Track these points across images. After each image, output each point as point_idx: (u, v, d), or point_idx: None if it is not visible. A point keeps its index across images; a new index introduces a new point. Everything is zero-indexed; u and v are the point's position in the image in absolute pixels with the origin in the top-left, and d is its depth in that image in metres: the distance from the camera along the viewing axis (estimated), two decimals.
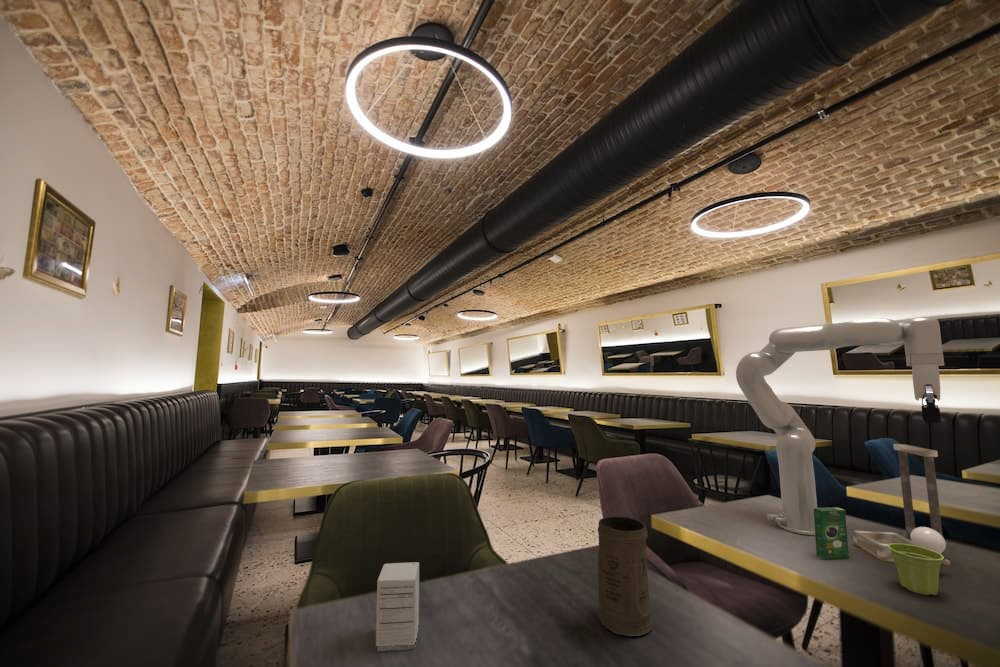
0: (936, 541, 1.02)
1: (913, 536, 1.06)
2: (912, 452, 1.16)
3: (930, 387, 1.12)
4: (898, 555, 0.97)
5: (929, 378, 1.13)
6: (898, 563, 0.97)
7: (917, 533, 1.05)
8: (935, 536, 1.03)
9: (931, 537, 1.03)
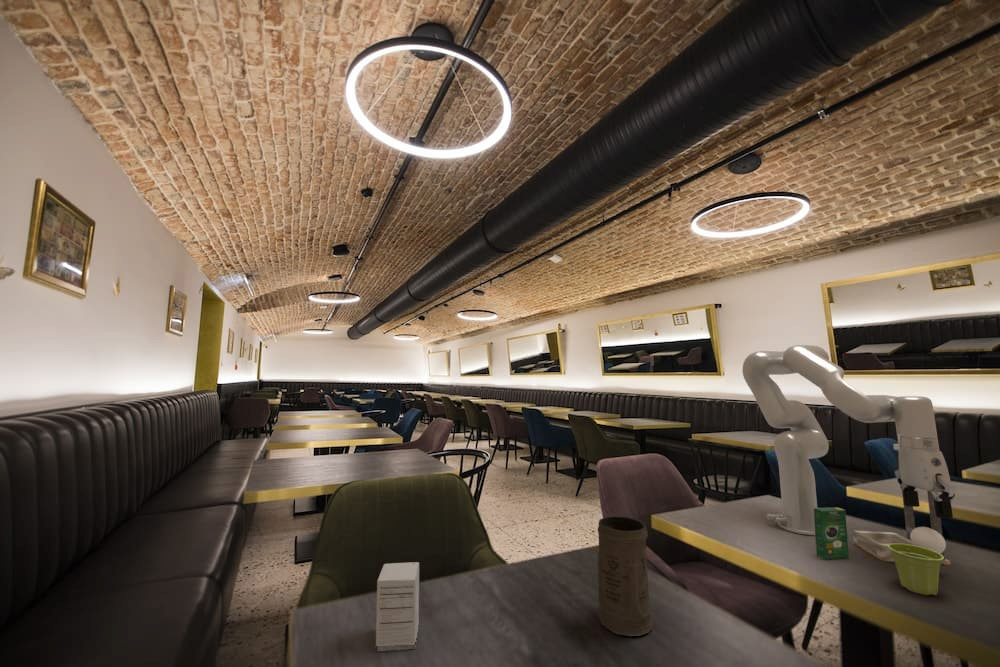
0: (936, 541, 1.02)
1: (913, 536, 1.06)
2: None
3: None
4: (898, 555, 0.97)
5: None
6: (898, 563, 0.97)
7: (917, 533, 1.05)
8: (935, 536, 1.03)
9: (931, 537, 1.03)
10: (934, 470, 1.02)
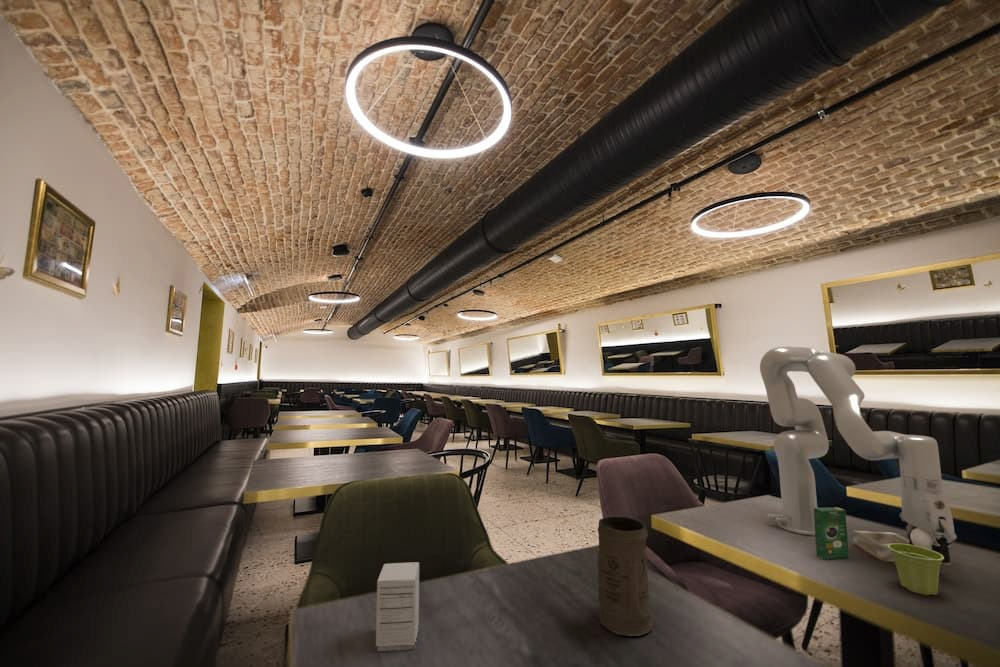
0: None
1: (913, 536, 1.06)
2: None
3: None
4: (898, 555, 0.97)
5: None
6: (898, 563, 0.97)
7: (917, 533, 1.05)
8: None
9: None
10: (937, 513, 1.01)
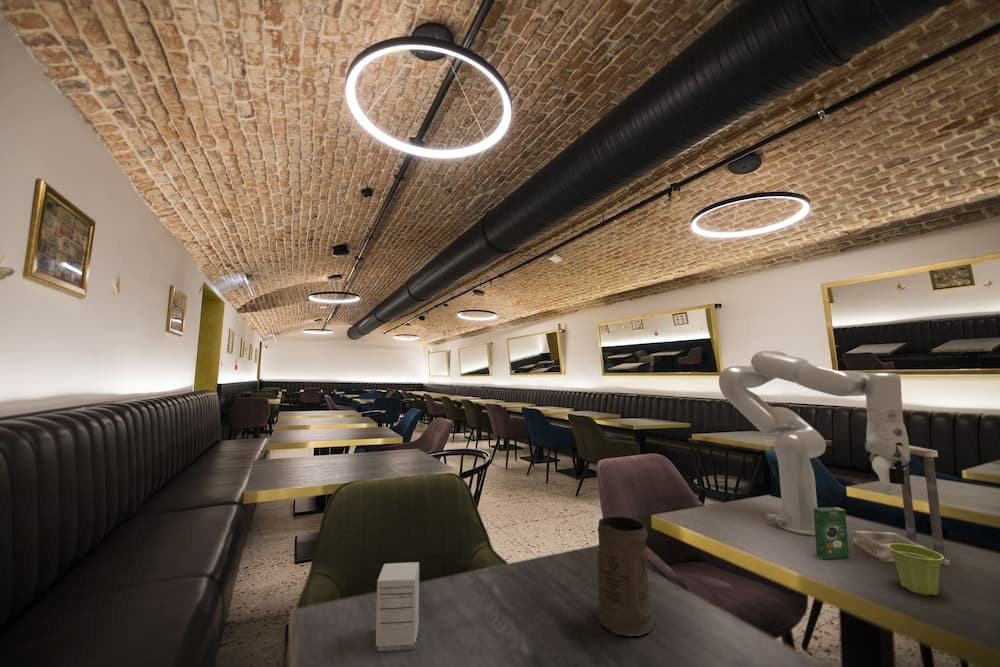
0: None
1: (873, 462, 1.17)
2: (912, 452, 1.16)
3: None
4: (898, 555, 0.97)
5: None
6: (898, 563, 0.97)
7: (877, 459, 1.16)
8: None
9: None
10: (895, 439, 1.12)
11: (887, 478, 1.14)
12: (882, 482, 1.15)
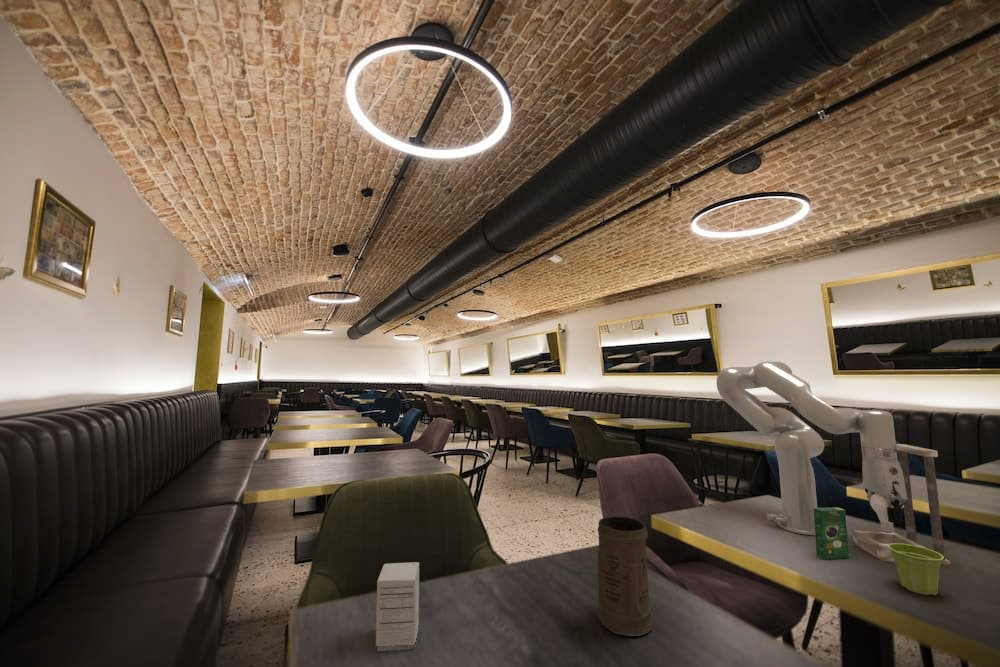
0: None
1: (871, 500, 1.18)
2: (912, 452, 1.16)
3: None
4: (898, 555, 0.97)
5: None
6: (898, 563, 0.97)
7: (875, 497, 1.17)
8: (891, 499, 1.14)
9: (886, 500, 1.15)
10: (891, 478, 1.13)
11: (885, 516, 1.15)
12: (881, 520, 1.16)
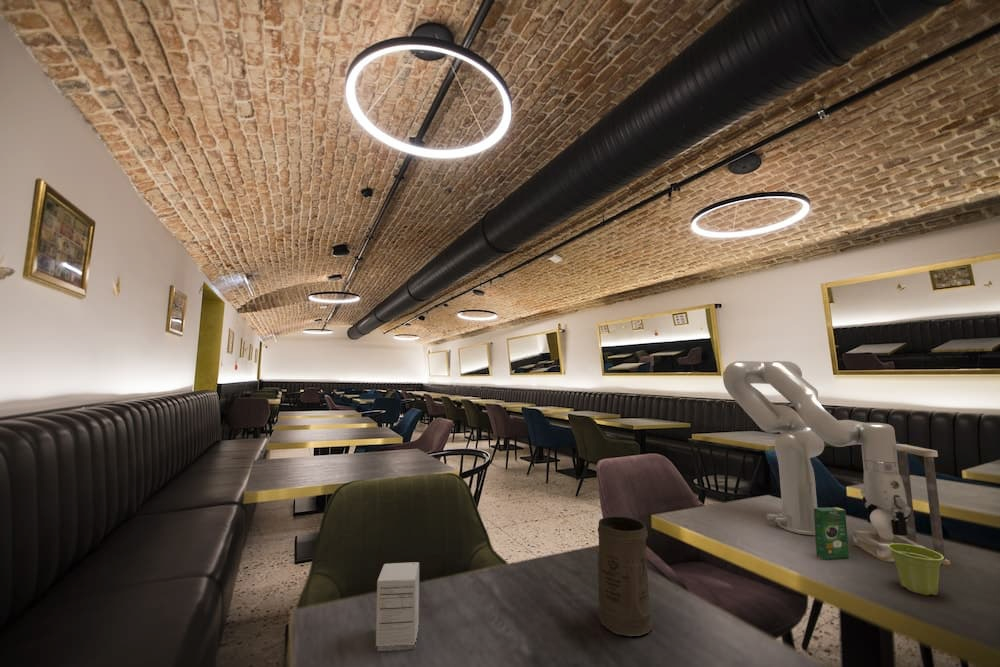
0: None
1: (871, 517, 1.17)
2: (912, 452, 1.16)
3: None
4: (898, 555, 0.97)
5: None
6: (898, 563, 0.97)
7: (875, 514, 1.17)
8: (891, 516, 1.14)
9: (887, 517, 1.14)
10: (893, 492, 1.13)
11: (886, 533, 1.15)
12: (881, 537, 1.16)
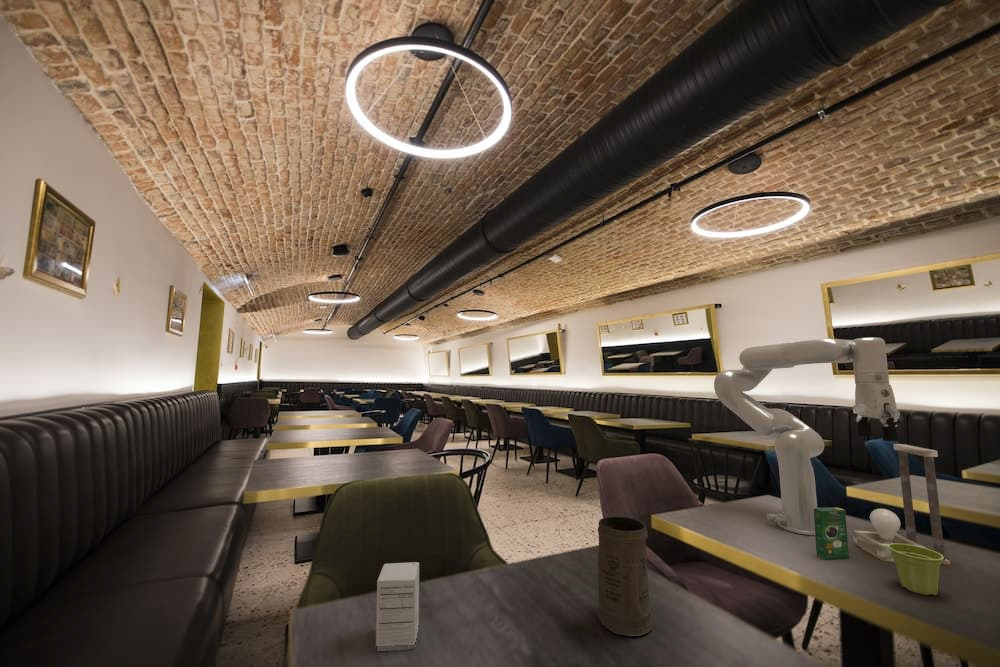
0: (892, 521, 1.14)
1: (872, 517, 1.17)
2: (912, 452, 1.16)
3: None
4: (897, 555, 0.97)
5: None
6: (898, 563, 0.97)
7: (875, 514, 1.17)
8: (891, 516, 1.14)
9: (887, 517, 1.14)
10: (883, 400, 1.15)
11: (886, 533, 1.15)
12: (881, 537, 1.16)
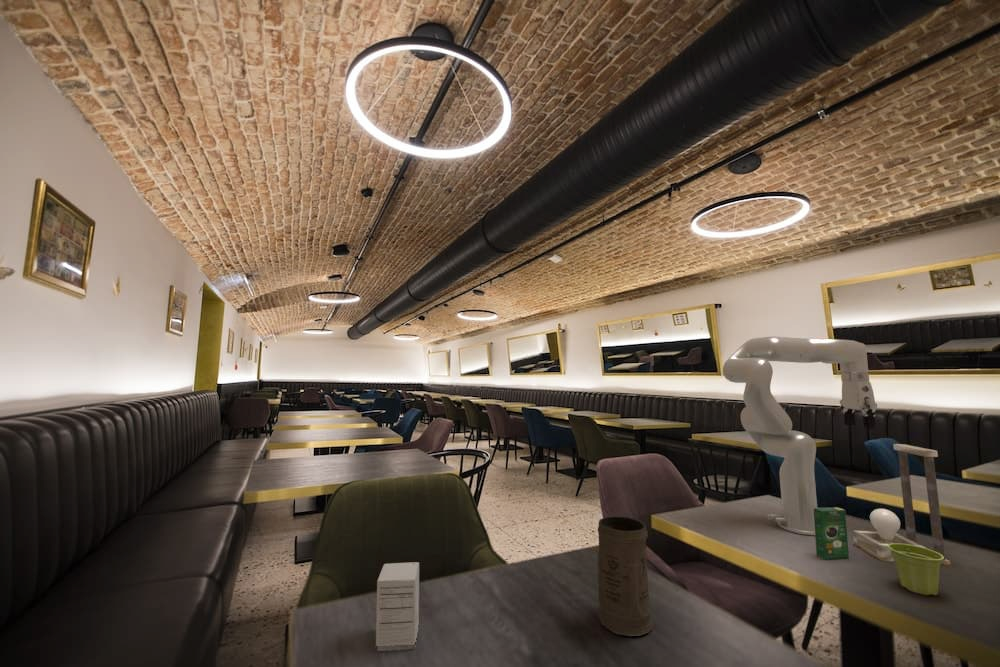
0: (892, 521, 1.14)
1: (871, 517, 1.17)
2: (912, 452, 1.16)
3: None
4: (898, 555, 0.97)
5: None
6: (898, 563, 0.97)
7: (875, 514, 1.17)
8: (891, 516, 1.14)
9: (887, 517, 1.15)
10: (864, 394, 1.40)
11: (886, 533, 1.15)
12: (881, 537, 1.16)
